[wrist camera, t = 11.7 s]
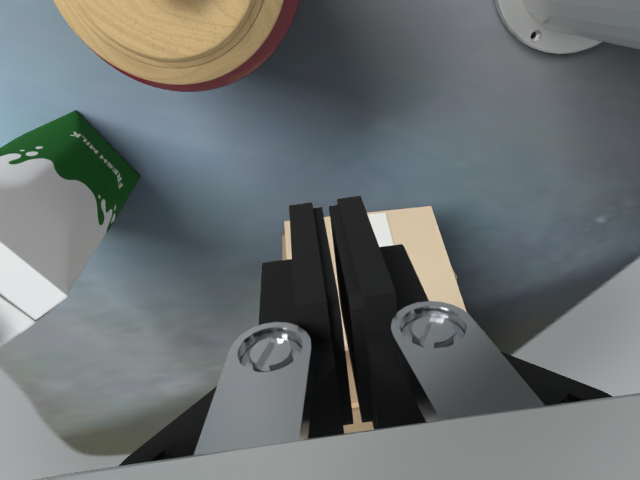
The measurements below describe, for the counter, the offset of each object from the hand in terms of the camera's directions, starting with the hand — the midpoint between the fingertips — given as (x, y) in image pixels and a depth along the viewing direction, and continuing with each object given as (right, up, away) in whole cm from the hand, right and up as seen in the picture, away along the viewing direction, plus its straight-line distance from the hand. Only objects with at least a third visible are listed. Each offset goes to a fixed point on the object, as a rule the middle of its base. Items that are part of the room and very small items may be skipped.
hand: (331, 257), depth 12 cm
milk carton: (-20, +6, +30) cm, 37 cm away
